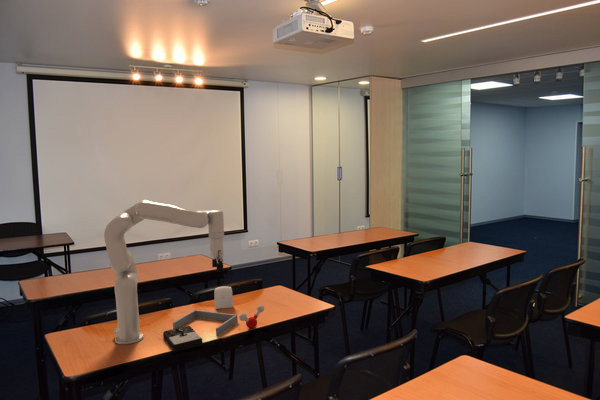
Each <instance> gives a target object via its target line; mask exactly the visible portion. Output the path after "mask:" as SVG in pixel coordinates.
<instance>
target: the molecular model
mask: <svg viewBox="0 0 600 400" xmlns="http://www.w3.org/2000/svg"><path fill="white" fill-rule="evenodd" d="M264 311H265V306H264V305H262V304H259V305H258V306H257V308H256V312H255V314H254V315H253V316H250V317H247V316H248V315H247V314H246V313H245V312H242V313H240V314H239V315H238V316H239V317H238V319H239V320H240V321H242V322H244V321H245V326H246V327H247V328H248V329H251V330H252V329H255V328H257V326H258V320H257V319H258V317H259V316H260V313H263V312H264Z"/></svg>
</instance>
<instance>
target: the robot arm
mask: <svg viewBox="0 0 600 400" xmlns="http://www.w3.org/2000/svg"><path fill="white" fill-rule="evenodd" d="M144 220H149V221H154V222H155V221H156V222H162V223H163V222H164V223H168V224H173V225H180V226H184V227H189V228H190V227H191V228H195V229H196V228H197V229H202V228H203V229H204V228H205V227H207V226H208V228H207V229H208V239H209V240H210V241H209V256H210V258H211V264H212V265H211V266H212V268H216V272H217V273H219V272H224V259H223V258H224V242H223V239H225V226H224V225H225V223H224V221H225V220H224V211H223V210H220V209H217V210H216V209H214V210H195V211H194V210H188V209H184V208H180V207H178V206H175V205H173V204H166V203H160V202H154V201H151V200H148V199H142V200H140V201H138V202H137V203H135V204H134V205H132V206H130V207H128V208H127V209H126V210H124V211H122V212H121V213H119V214H118V215H116V216H115V217H114V218H113V219H112V220H111V221H109V223H108V224H107V225H106V226H105V228H104V233H103V234H104V235H103V236H104V237H103V238H104V243H105V247H106V252H107V256H108V260H109V265H110V267H111V268H110V269H112V271H114V273H115V278H116V280H115V282H114V294H115V296H114V297H115V304H116V318H117V327H116V328H115V329H114V330H113V331H112V334H113V335H116V337H115V338H114V340H115V341H114V342H115V343H116V344H118V345H131V344H135V343H137V342H139V341H142V340H143V338H144V333H142V332H140V331H141V330H140V328H141V327H140V314H139V301H138V300H139V299H138V283H139V276H138V272H137V268H136V264H135V260H134V256H133V254H132V252H130V250H128V247H127V244H126V242H127V241H126V239H125V234H126V233H127V232H129V231H130V230H131V229H132V228H133V227H134V226H136V225H137V224H139V223H140V222H142V221H144Z"/></svg>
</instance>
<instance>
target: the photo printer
mask: <svg viewBox="0 0 600 400" xmlns="http://www.w3.org/2000/svg"><path fill="white" fill-rule="evenodd" d="M213 291H214V292H213V293H214V294H213V295H214V297H213V298H214V308H215V309H216V310H219V309H229V308H233V307H234V298H233V295H234V294H233V288H232V287H231V286H224V285H223V286H218V287H216V288H214V290H213Z"/></svg>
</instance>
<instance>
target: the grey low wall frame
mask: <svg viewBox="0 0 600 400" xmlns="http://www.w3.org/2000/svg"><path fill="white" fill-rule="evenodd" d="M195 319H203V320H210V321H218V322H223V323H221V324H220V325H218V326H217V327H216V328H215V337H219V336H221V335H222V334H224V333H225V332H226V331H228V330H230V328H232V327H233V326H234V325H236V324H237V323H239V322H238V321H239V320H238V319H239V318H238V314H234V313H233V314H231V313H224V312H216V311H208V310H207V311H206V310H199V309H194V310H192V311H190V312H189V313H187V314H185V315H183V316H182V317H180V318H177V320H175V321H173V322H172V327H173V328H172V329H177V328H181V327H184V326H185V325H186V324H188V323H189V322H191V321H193V320H195Z"/></svg>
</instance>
